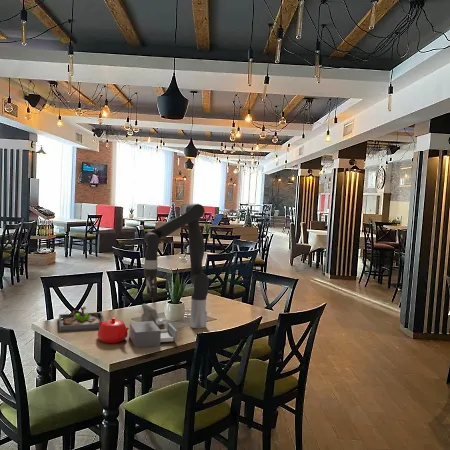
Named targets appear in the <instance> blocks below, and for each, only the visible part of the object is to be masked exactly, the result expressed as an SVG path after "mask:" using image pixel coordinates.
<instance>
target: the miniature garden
mask: <svg viewBox="0 0 450 450" xmlns="http://www.w3.org/2000/svg"><path fill="white" fill-rule="evenodd" d="M86 309H87V308H86V306H81V307H80V310H81V311H80V310H77V309H75V310H73V311H72V314H76V315H77V316H74V317H71V318H67V319H64V320H62V323H63V326H66V325H82V324H99V322H100V321H99V319H98V318H95V317H93V316H91V315H89V316H88V314H89V313H90V312H85V310H86ZM79 313H80V314H79ZM84 313H85V314H84Z"/></svg>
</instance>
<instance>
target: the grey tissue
mask: <svg viewBox="0 0 450 450" xmlns="http://www.w3.org/2000/svg"><path fill="white" fill-rule="evenodd" d="M141 307H142V309H143V313H142V314H141V319H140V322H146V321H154V323H155V324H156V319H158V318H159V315H158V311H157V309H156V308H155V307H153V306H151V305H149V304H147V303H142V304H141ZM156 325H157V326H158V324H156Z"/></svg>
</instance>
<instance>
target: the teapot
mask: <svg viewBox="0 0 450 450" xmlns="http://www.w3.org/2000/svg"><path fill="white" fill-rule="evenodd" d="M99 326H100V328H99V329H98V330H97V337H98V339H99V340H100V341H101V342H103V343H106V344H116V343H117V344H119V343H121V342H122V341H123V342H124V340H126V339H127V337H128V335H129V333H128V330H130V327H127V326H126V324H125V322H124V321H122V320H119V319H117V317H115V316H111V317H110V319H108V320H105V321H101V320H100V321H99Z"/></svg>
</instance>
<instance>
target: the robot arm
mask: <svg viewBox="0 0 450 450" xmlns="http://www.w3.org/2000/svg"><path fill="white" fill-rule="evenodd" d="M204 215H205V207H204V206H203V205H202V204H200V203H190V204H188V205H187V206H186V208H185V212H184V213H183V214H182V215H179V216H177V217H175V218H172V219H169V220H168V221H166V222H164V223H163V224H162V225H160V226H159V227H156V228H153V229H152V230H150V231H148V232H146V233H145V234H144V236H143V241H144V243H145V244H146V249H145V251H144V262H143V267H144V268H143V271H144V272H143V275H144V277H146V278H145V286H146V294H147V295H149V297H150V298H154V297H155V291H156V279H155V277H157V276H158V250H159V247H160V239H164V238H166V237H168V236H170V235H172V234H173V233H175V232H176V231H178V230H179V229H181V228H183V227H184V226H186V225H187V228H188V230H187V231H188V232H187V233H188V249H189V260H190V282H191V284H192V285H193V292H192V293H191V296H190V297H191V299H190V300H191V301H190V316H189V317H190V318H189V327H190V328H193V329H204V328H207V316H208V311H207V297H208V294H209V285H210V281H209V280H210V279H209V277H208V275H207V274H205V273H204V270H203V258H204V256H205V251H206V249H205V239H204V235H203V233H202V230H201V228H200V219H201V218H203V216H204Z"/></svg>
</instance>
